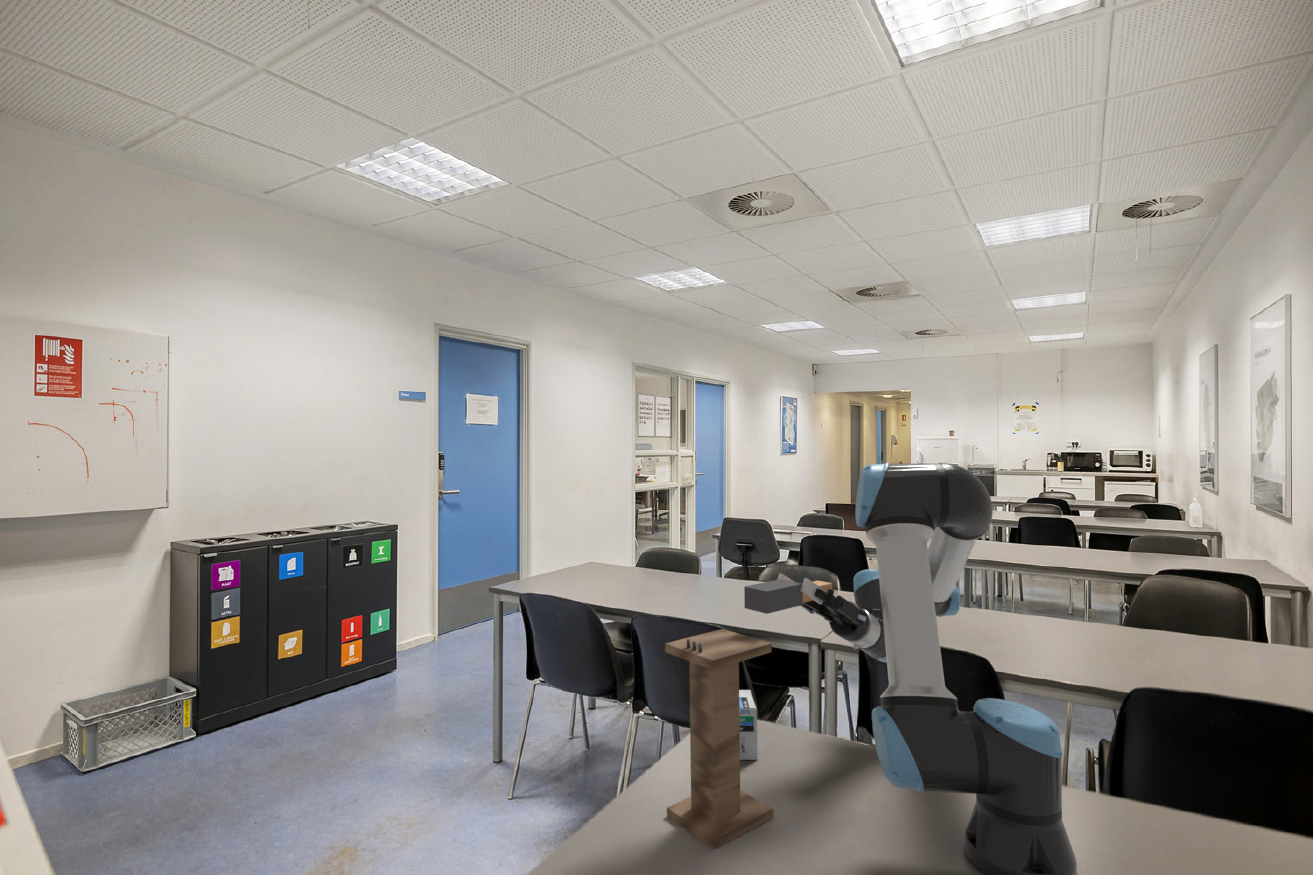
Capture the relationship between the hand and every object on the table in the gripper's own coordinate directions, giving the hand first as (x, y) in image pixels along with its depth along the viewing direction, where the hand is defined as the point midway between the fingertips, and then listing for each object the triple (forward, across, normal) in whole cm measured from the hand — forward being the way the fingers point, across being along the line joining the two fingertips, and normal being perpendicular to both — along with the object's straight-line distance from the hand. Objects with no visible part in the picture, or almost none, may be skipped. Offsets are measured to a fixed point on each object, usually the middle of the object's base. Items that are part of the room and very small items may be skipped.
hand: (791, 582), depth 128 cm
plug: (-2, 0, -3) cm, 4 cm away
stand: (-2, 0, -43) cm, 43 cm away
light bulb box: (-20, +16, -32) cm, 41 cm away
